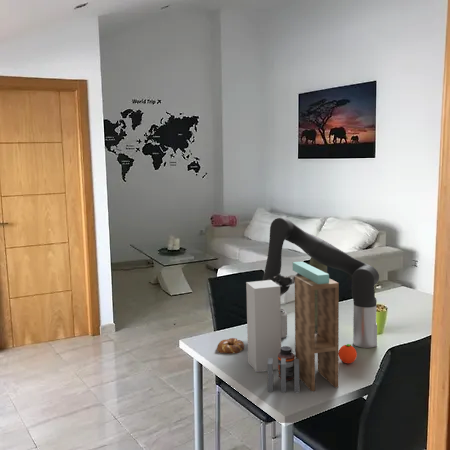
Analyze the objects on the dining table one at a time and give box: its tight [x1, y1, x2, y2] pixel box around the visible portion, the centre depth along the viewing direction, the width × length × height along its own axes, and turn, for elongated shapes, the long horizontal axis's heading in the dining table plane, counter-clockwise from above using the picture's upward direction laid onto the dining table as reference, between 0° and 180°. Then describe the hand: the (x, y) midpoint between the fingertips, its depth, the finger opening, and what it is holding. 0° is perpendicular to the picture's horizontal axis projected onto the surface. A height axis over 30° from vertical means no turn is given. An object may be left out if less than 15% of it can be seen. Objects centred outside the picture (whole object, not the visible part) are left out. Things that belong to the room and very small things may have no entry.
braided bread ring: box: [216, 337, 245, 355], centre depth 211 cm, size 12×11×4 cm
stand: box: [294, 276, 340, 392], centre depth 177 cm, size 14×10×37 cm
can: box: [281, 308, 288, 339], centre depth 224 cm, size 8×8×12 cm
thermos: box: [309, 257, 328, 334], centre depth 229 cm, size 9×12×35 cm
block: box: [292, 261, 330, 284], centre depth 179 cm, size 22×4×3 cm, turn 15°
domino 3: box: [293, 359, 300, 394], centre depth 173 cm, size 2×5×10 cm, turn 173°
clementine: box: [338, 343, 358, 364], centre depth 194 cm, size 8×7×7 cm
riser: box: [245, 280, 282, 373], centre depth 192 cm, size 10×10×32 cm
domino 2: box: [280, 358, 287, 393], centre depth 174 cm, size 2×5×10 cm, turn 173°
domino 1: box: [267, 358, 274, 393], centre depth 174 cm, size 2×5×10 cm, turn 173°
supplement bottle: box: [277, 345, 295, 382], centre depth 182 cm, size 6×6×11 cm
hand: (290, 275), depth 197 cm, fingers open, 8 cm apart
